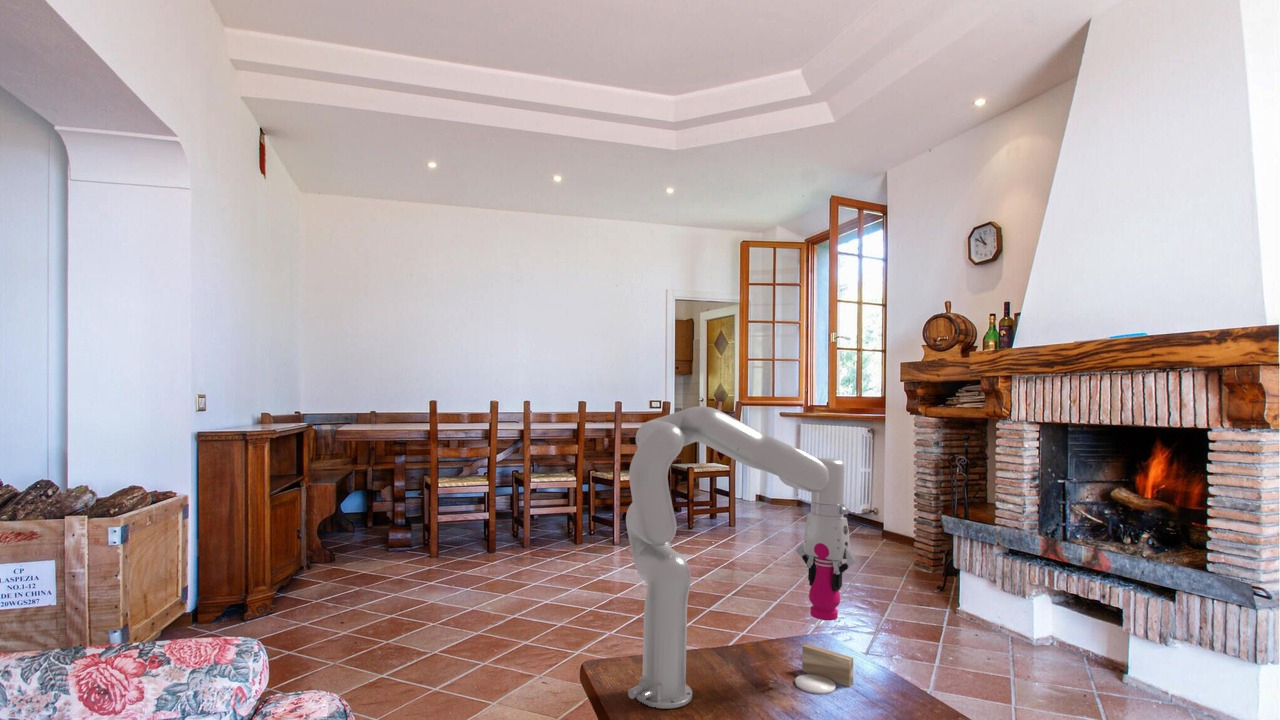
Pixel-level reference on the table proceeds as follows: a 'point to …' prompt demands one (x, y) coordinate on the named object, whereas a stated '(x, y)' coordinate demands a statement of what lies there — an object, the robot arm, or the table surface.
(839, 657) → the oak rail
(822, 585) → the pepper mill
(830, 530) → the robot arm
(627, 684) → the table surface
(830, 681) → the coaster
